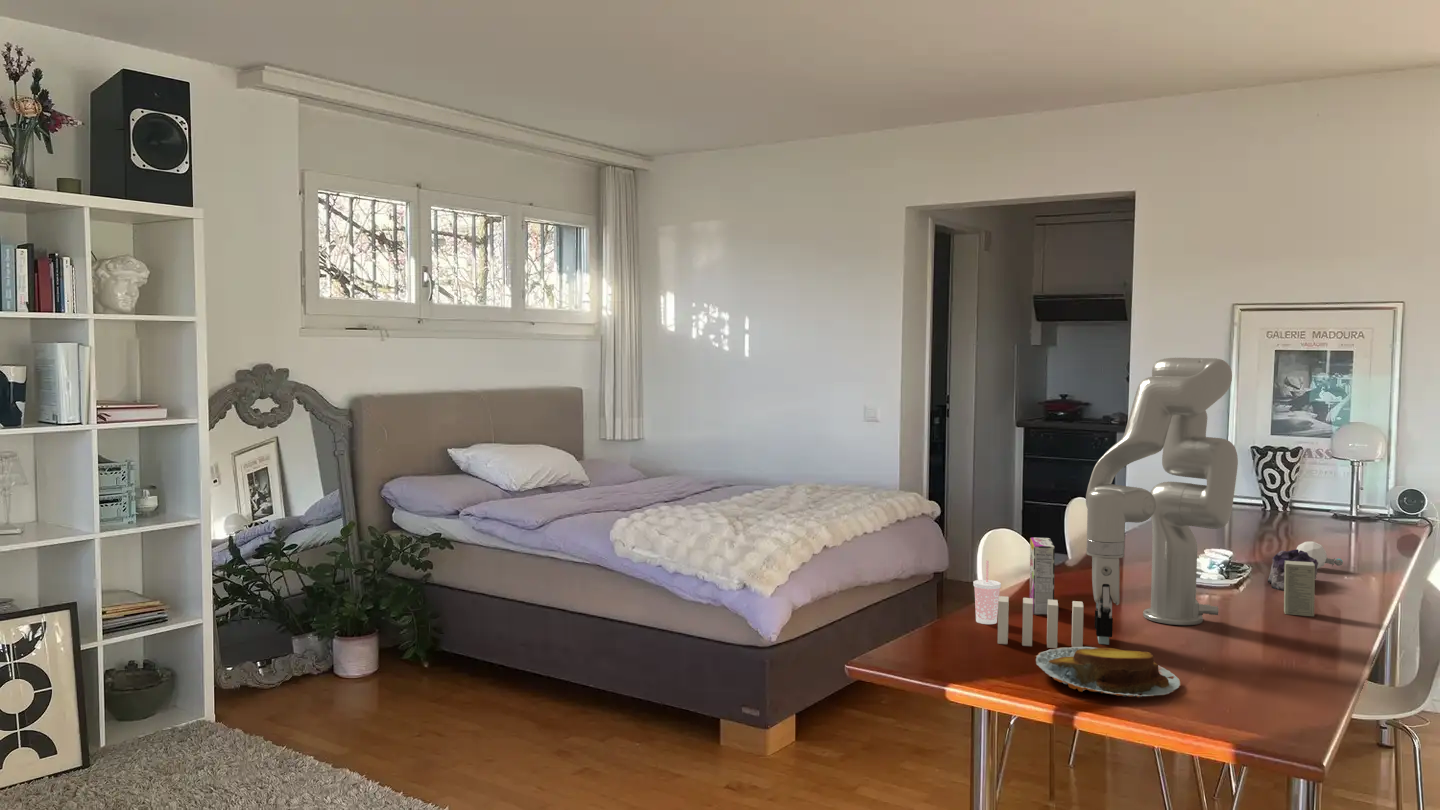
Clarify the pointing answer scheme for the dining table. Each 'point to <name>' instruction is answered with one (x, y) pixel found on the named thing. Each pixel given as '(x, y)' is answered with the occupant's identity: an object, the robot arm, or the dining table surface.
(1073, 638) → the domino
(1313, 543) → the perfume bottle
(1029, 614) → the domino
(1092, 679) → the food on plate
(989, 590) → the beverage cup
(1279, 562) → the geode
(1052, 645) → the domino
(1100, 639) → the domino
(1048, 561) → the candy bar box
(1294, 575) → the skincare box
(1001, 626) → the domino
